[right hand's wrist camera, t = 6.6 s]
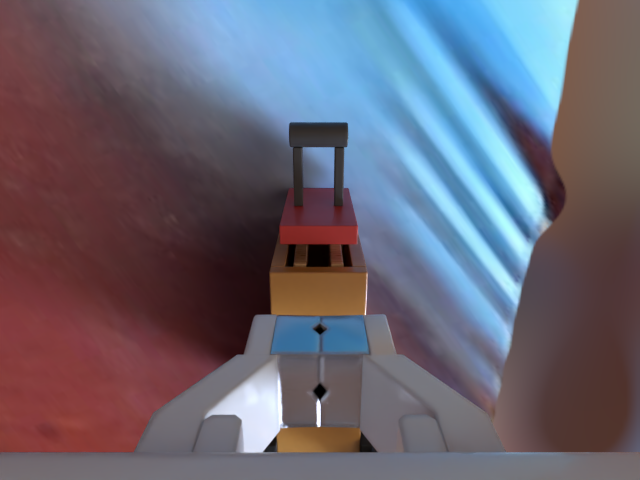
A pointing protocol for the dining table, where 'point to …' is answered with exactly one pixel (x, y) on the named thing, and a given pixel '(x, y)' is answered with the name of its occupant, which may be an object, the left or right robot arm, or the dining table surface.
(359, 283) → the cabinet
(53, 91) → the dining table surface
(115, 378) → the dining table surface
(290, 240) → the drawer
